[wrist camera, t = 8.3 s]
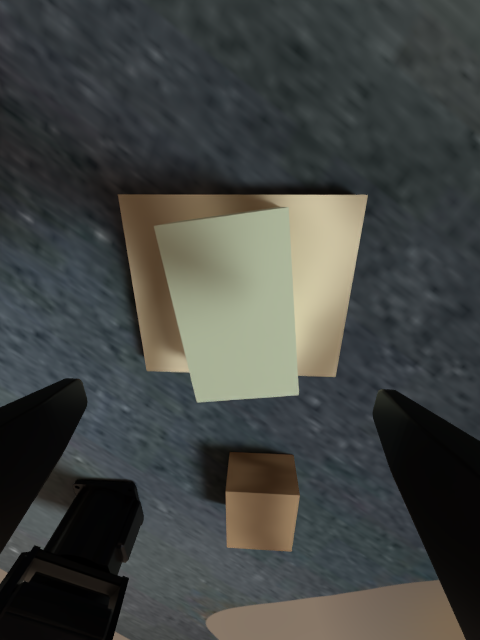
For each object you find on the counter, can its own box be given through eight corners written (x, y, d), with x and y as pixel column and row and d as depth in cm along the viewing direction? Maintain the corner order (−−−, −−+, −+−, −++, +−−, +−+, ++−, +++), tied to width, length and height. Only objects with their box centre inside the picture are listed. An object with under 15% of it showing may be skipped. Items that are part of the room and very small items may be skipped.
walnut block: (230, 503, 28) (227, 547, 25) (229, 449, 25) (225, 491, 22) (286, 506, 28) (291, 551, 24) (293, 452, 25) (299, 495, 21)
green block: (207, 365, 19) (197, 402, 16) (177, 221, 15) (153, 226, 12) (290, 358, 19) (298, 394, 15) (280, 206, 15) (288, 207, 11)
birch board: (153, 360, 21) (146, 370, 20) (129, 195, 16) (117, 194, 15) (329, 365, 21) (335, 376, 19) (357, 195, 16) (367, 195, 14)
